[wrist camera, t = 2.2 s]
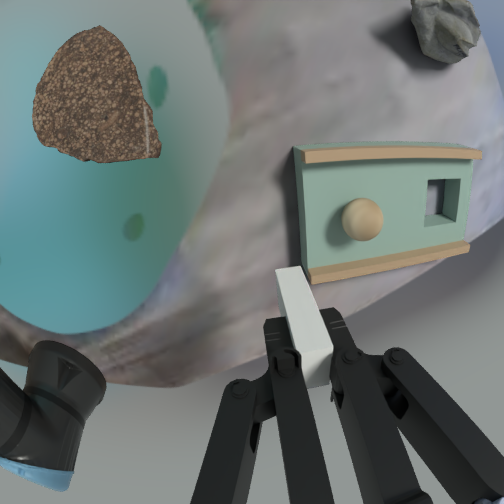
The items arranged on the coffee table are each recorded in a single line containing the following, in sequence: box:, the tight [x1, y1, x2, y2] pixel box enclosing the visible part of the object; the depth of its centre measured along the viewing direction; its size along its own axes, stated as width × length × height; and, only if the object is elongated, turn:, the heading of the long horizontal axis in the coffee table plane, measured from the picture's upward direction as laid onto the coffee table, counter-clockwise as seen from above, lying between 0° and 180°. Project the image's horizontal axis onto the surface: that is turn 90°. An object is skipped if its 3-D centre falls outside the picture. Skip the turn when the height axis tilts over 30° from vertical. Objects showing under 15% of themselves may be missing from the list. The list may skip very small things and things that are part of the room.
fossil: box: [411, 0, 481, 64], centre depth 16 cm, size 11×9×8 cm
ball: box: [341, 198, 383, 241], centre depth 25 cm, size 4×4×4 cm
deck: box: [293, 142, 482, 285], centre depth 27 cm, size 22×13×4 cm, turn 97°
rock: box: [32, 25, 161, 163], centre depth 18 cm, size 12×10×10 cm
